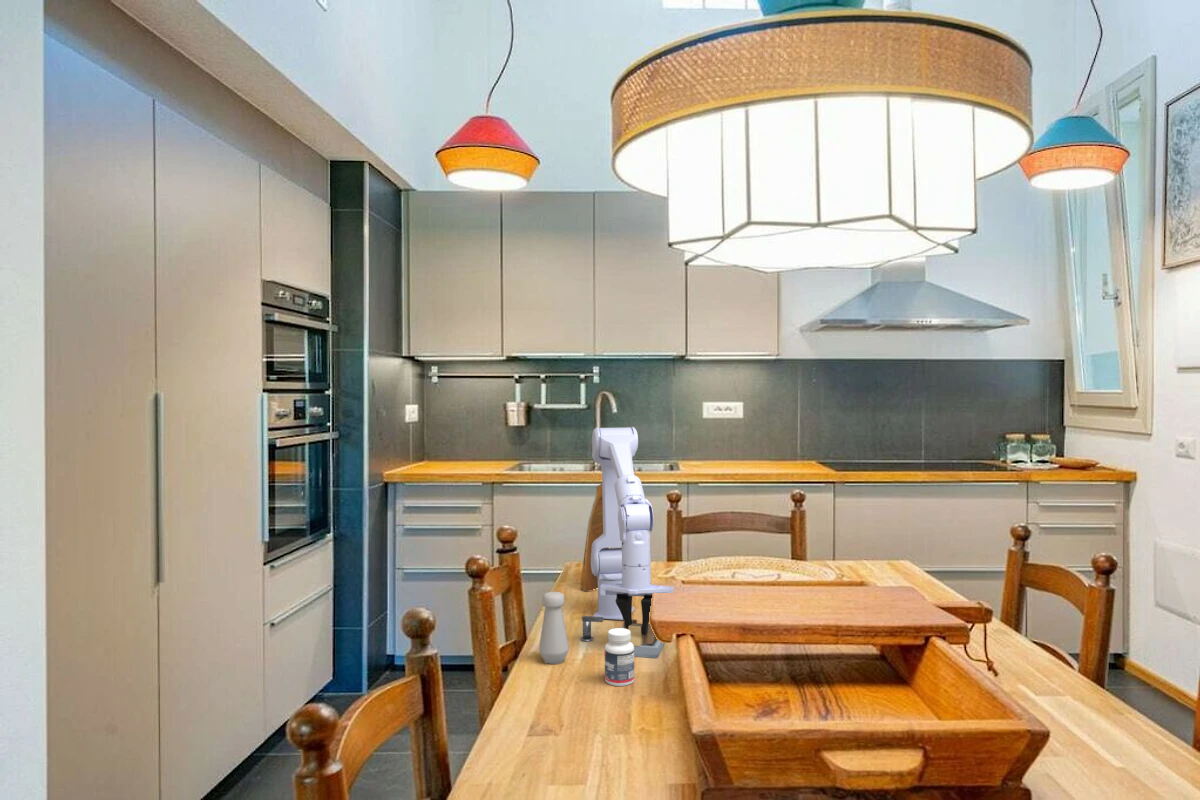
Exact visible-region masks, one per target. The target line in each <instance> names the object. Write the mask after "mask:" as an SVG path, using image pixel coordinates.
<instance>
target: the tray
mask: <svg viewBox="0 0 1200 800" xmlns="http://www.w3.org/2000/svg"><path fill="white" fill-rule="evenodd" d="M621 628H623V625H622V626H621ZM664 646H665V644H664V643H662V642H660V641H659V640H656V641H655V642H654V643H653V644H646V643H643V644H642V645H641V646H634V658H635V657H637V658H650V659H658V658H659V656H660V654H661V652H662V651H663V648H664Z"/></svg>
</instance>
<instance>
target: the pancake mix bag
mask: <svg viewBox="0 0 1200 800" xmlns="http://www.w3.org/2000/svg"><path fill="white" fill-rule="evenodd" d="M595 488H596V491H595V496H594V499H593V503H592V507H591V510H590V514H589V517H588V523H587V524H588V525H587V530H586V536H585V537H586V538H585V544H584V545H585V546H584V555H583V560H582V569H581V576H580V581H581V582H580V589H581V588H582V589H584V590H583V591H584V592H588V591H587V590H593V589H596V588H598V577H597V576H594V574H593V573H592V569H591V552H592V543H593V542H594V541H595V540H596V539H597V538H598V537H600V536H601V535H602V534H603V498H602V483H600V484H599V485H597V486H596V487H595ZM602 549H607V548H602ZM582 589H581V590H582Z"/></svg>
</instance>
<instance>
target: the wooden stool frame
mask: <svg viewBox="0 0 1200 800" xmlns="http://www.w3.org/2000/svg"><path fill="white" fill-rule="evenodd" d="M622 626H623V628H625V629H626V627H625V623H624V622H623V623H622ZM628 630H630V632H631V638H630V641H629V642H631V643H632V644H633V646H641V645H642V644H643V643H646V644H653V643H654V642H655V641H656V640H657V639H656V637H655V635H654V633H653V631H652V629H651V626H650V624H648V632H647V634H646V635H642V623H638V620H637V619H633V618H632V624H631V625H629V628H628Z"/></svg>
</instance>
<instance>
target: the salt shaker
mask: <svg viewBox="0 0 1200 800" xmlns="http://www.w3.org/2000/svg"><path fill="white" fill-rule="evenodd" d="M565 602H566V601H565V595H564V594H563V593H562V592H559V591H548V592H544V594H543V595H542V600H541V603H542V606H543V607H545V608H544V611H543V613H544V614H543V621H542V625H541V627H542V628H541V634H540V638H539V639H540V640H539V646H538V649H539V653H540V655H541V658H542V661H543V662H544V663H545V664H547V663H549V664H548V665H558V664H562V663H564V661H565V659H566V658H567V655H568V653H569V650H570V645H569V640H568V635H567V629H566V625H565V618H564V614H563V609H562V607H564V605H565Z"/></svg>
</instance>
